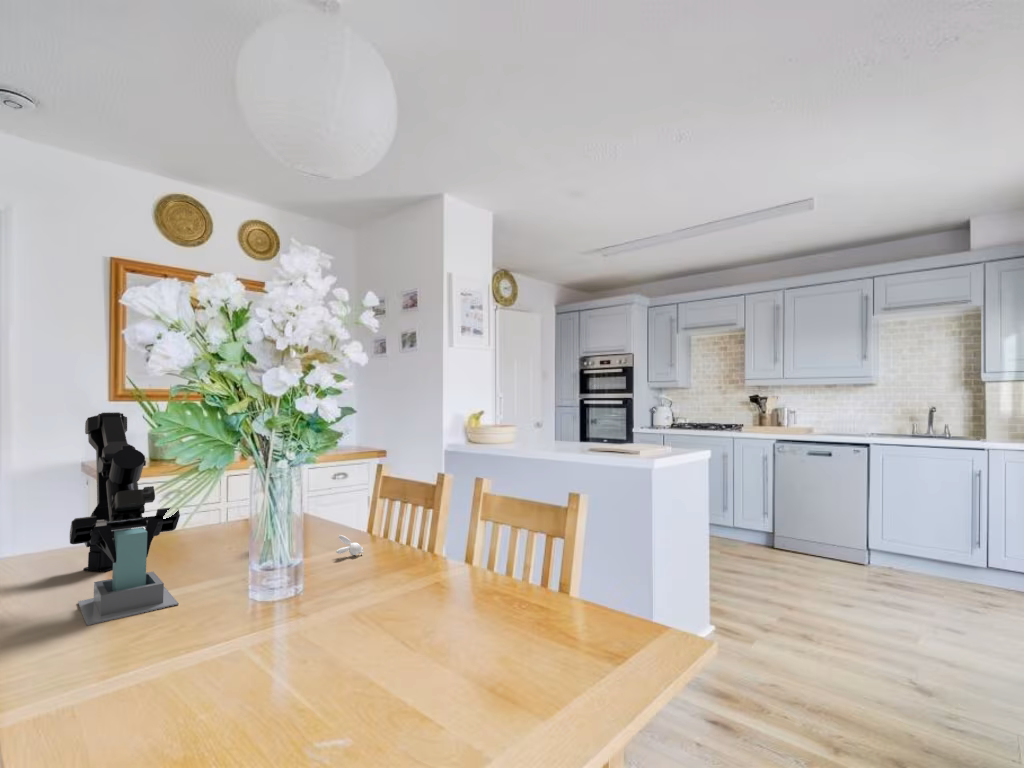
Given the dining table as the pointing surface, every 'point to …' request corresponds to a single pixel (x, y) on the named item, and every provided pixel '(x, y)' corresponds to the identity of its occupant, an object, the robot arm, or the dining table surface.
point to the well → (125, 600)
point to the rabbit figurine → (353, 547)
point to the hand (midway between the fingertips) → (130, 559)
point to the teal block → (129, 558)
